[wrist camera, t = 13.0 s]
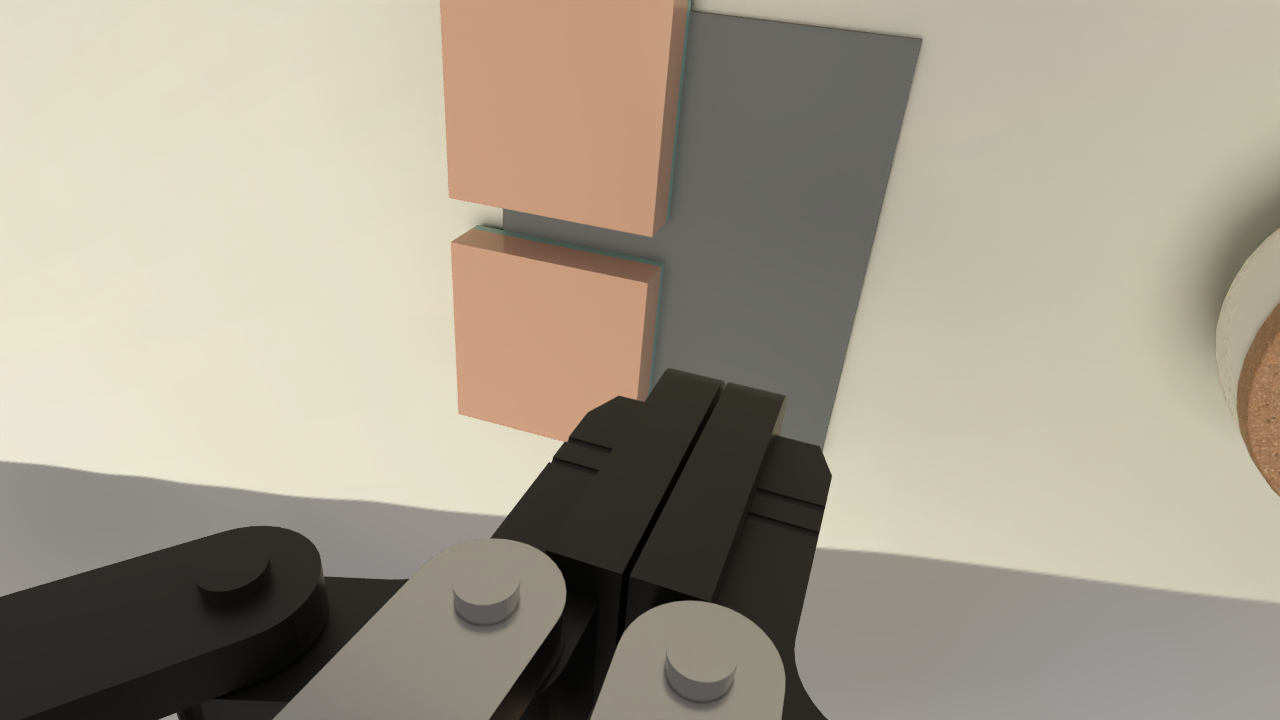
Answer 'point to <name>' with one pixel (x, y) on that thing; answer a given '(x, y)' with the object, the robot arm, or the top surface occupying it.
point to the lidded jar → (1254, 356)
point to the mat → (768, 205)
